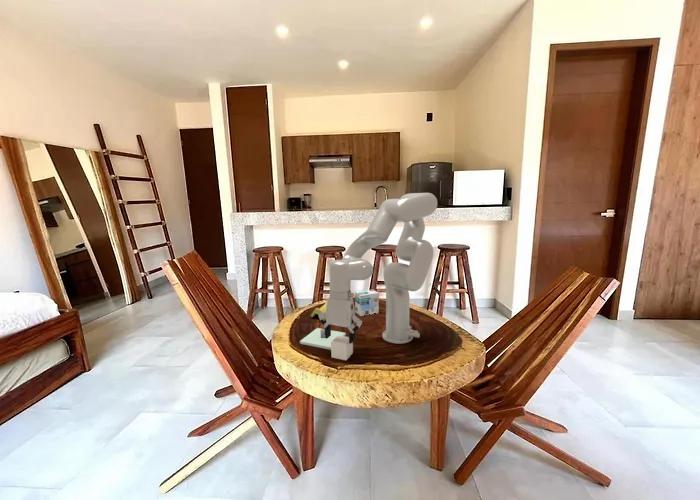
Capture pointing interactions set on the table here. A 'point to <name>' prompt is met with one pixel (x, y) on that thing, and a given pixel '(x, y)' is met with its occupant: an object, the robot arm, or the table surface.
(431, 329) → the table surface
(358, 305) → the light bulb box
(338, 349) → the off-white plain cube
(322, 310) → the plastic component
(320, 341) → the stub plate
